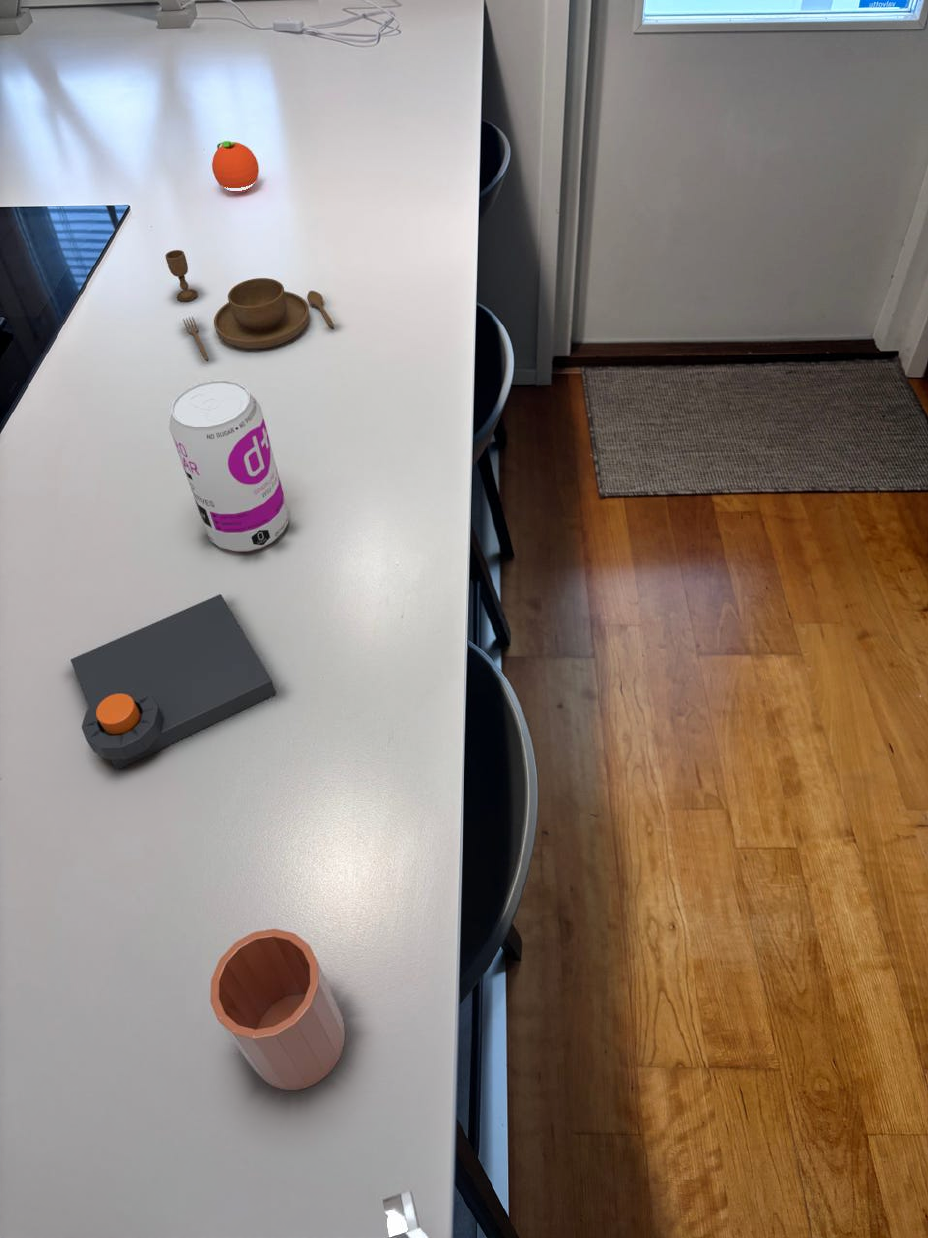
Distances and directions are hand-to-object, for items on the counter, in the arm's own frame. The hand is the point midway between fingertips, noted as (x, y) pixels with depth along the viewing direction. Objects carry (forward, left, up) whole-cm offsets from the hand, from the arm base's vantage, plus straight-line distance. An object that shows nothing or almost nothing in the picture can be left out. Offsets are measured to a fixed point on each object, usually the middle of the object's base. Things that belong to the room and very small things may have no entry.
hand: (307, 1226), depth 48 cm
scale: (+6, +45, -8) cm, 46 cm away
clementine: (+47, +133, -8) cm, 142 cm away
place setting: (+35, +98, -8) cm, 104 cm away
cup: (+3, +12, -8) cm, 14 cm away
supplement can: (+19, +60, -8) cm, 63 cm away
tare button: (+1, +41, -5) cm, 41 cm away
